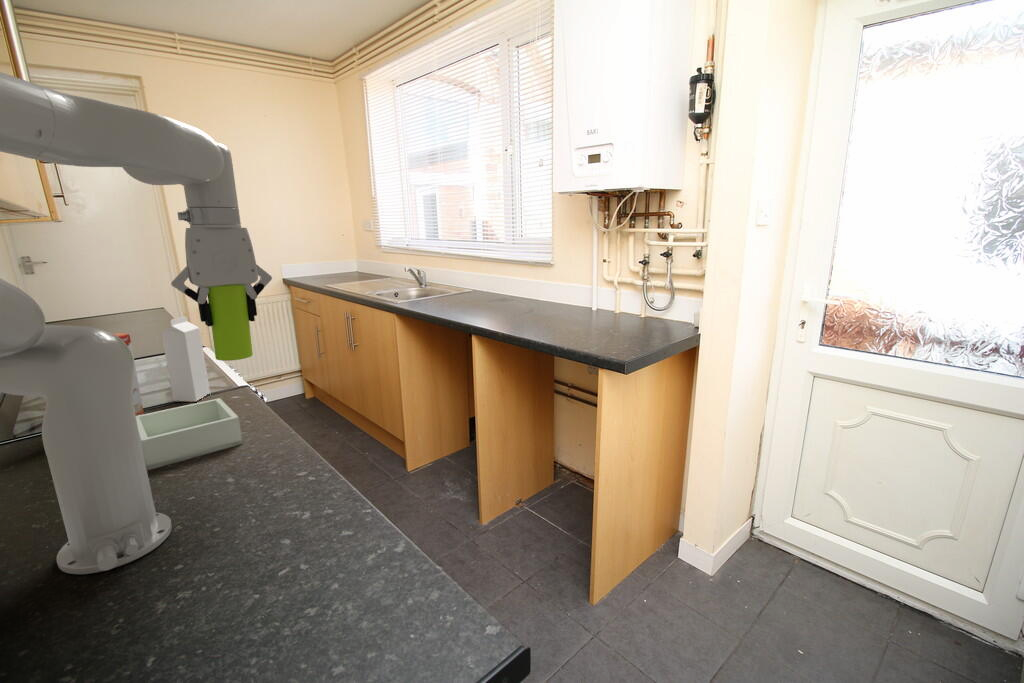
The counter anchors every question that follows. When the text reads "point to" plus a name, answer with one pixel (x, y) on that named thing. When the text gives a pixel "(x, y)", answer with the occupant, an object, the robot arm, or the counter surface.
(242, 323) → the soap dispenser
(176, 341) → the milk
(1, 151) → the robot arm
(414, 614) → the counter surface
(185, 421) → the tub
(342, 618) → the counter surface
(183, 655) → the counter surface
